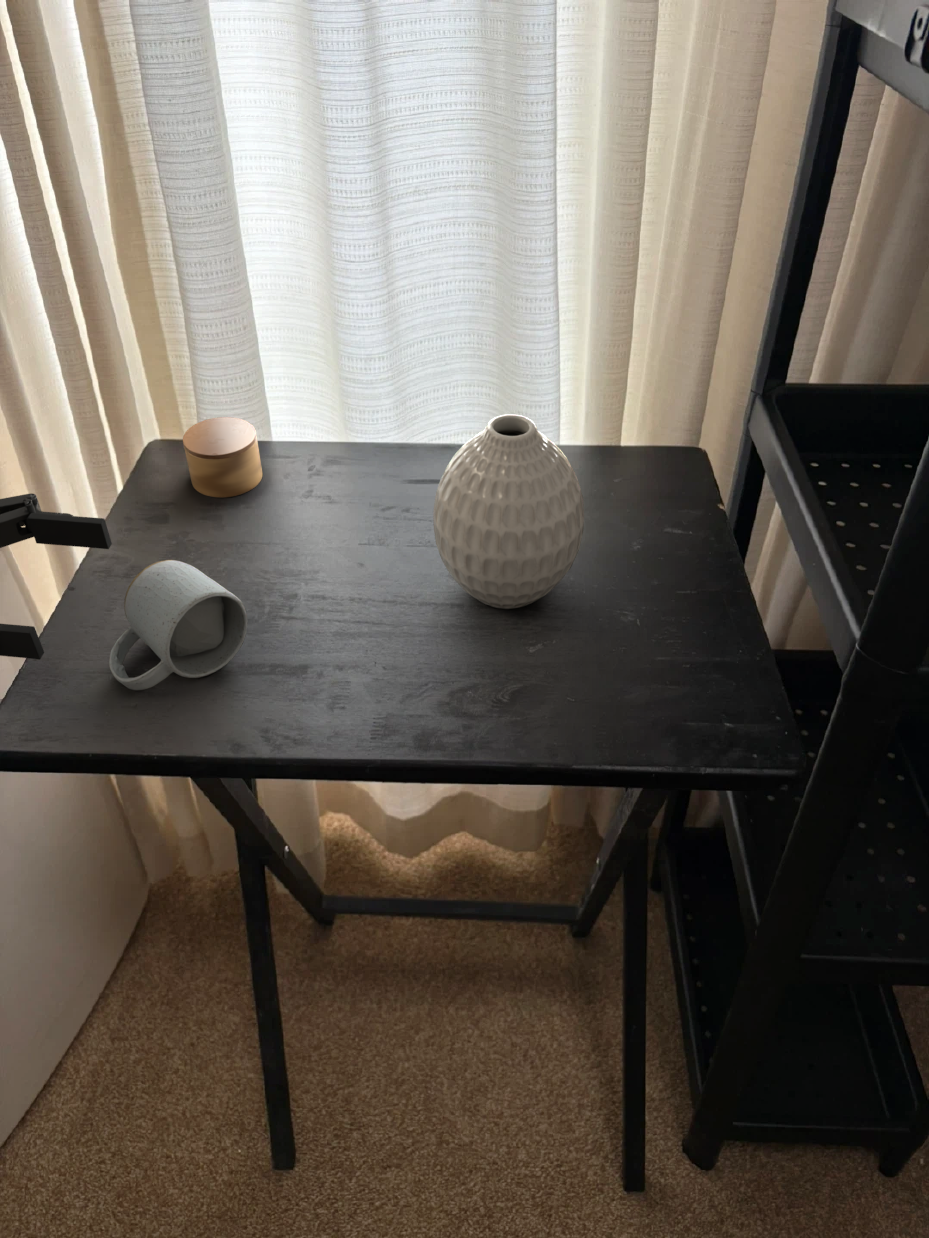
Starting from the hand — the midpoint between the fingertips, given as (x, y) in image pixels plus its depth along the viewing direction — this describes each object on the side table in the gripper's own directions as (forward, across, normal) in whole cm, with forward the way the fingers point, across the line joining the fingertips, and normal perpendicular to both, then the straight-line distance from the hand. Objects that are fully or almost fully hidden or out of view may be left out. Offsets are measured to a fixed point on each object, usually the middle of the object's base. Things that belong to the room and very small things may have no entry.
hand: (74, 585), depth 83 cm
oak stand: (+4, -26, -7) cm, 27 cm away
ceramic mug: (+8, 0, -7) cm, 10 cm away
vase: (+34, -12, -7) cm, 37 cm away
